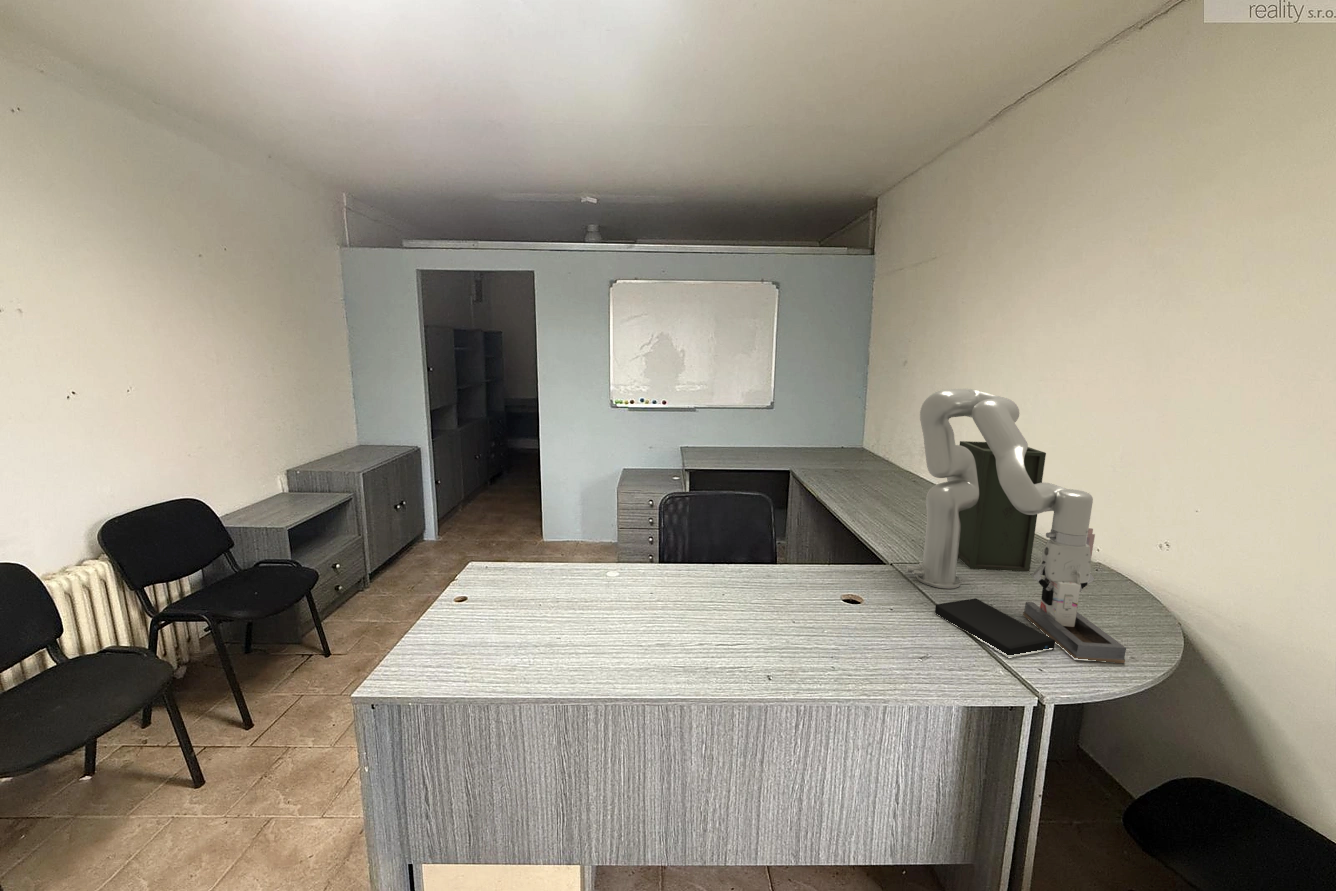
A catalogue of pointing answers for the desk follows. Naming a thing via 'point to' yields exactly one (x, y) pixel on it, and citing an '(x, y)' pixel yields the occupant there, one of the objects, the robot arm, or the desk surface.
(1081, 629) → the frame
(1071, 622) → the ink cartridge box
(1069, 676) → the desk surface
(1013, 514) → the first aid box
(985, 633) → the external hard drive
